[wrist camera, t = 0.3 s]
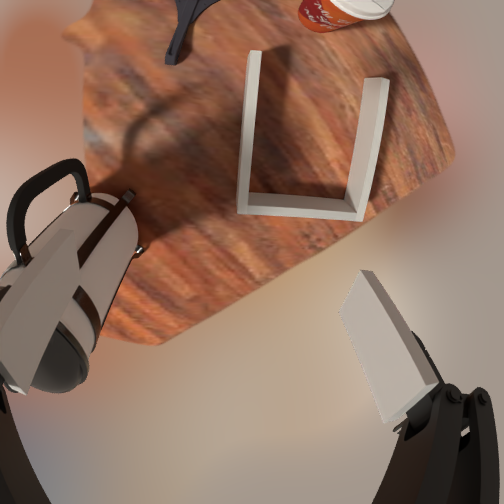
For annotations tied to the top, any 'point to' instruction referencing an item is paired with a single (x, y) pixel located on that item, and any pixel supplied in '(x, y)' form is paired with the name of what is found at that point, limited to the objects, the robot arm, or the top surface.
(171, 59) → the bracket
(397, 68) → the top surface
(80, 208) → the coffee press
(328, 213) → the box
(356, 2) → the paper cup
